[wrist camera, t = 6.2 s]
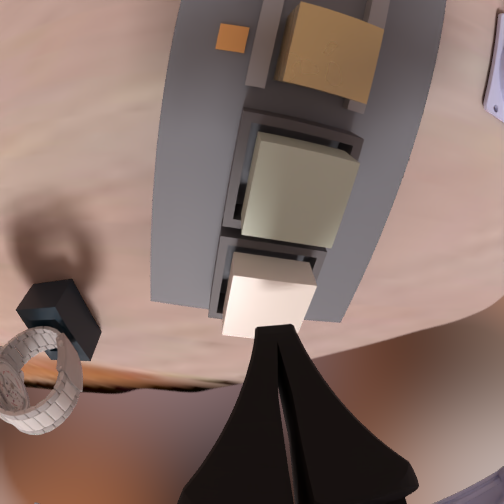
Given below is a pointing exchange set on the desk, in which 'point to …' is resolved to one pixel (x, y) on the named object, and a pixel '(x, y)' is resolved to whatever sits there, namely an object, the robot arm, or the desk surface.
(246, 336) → the button cream
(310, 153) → the button sage
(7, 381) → the watch
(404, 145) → the control panel
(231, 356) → the desk surface
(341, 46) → the slider knob
